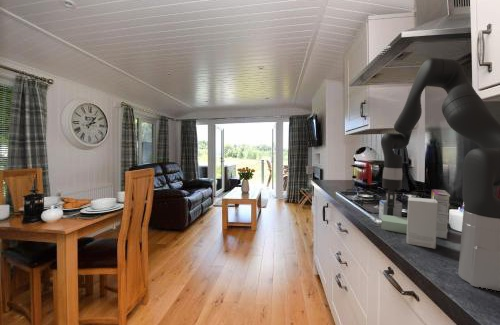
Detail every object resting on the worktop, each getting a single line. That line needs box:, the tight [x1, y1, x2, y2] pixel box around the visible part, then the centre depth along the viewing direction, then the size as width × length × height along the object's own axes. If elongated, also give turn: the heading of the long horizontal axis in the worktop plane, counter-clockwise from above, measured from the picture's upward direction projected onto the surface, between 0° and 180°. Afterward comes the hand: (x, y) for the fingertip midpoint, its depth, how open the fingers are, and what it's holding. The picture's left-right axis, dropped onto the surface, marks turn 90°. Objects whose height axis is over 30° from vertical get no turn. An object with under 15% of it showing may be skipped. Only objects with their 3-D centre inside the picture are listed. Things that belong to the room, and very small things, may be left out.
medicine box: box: [378, 199, 403, 220], centre depth 108 cm, size 8×4×9 cm, turn 84°
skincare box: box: [406, 196, 438, 250], centre depth 82 cm, size 8×7×16 cm
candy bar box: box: [430, 189, 451, 240], centre depth 92 cm, size 11×5×16 cm, turn 147°
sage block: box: [380, 214, 407, 235], centre depth 98 cm, size 10×10×4 cm
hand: (390, 214), depth 108 cm, fingers closed on medicine box, 6 cm apart
